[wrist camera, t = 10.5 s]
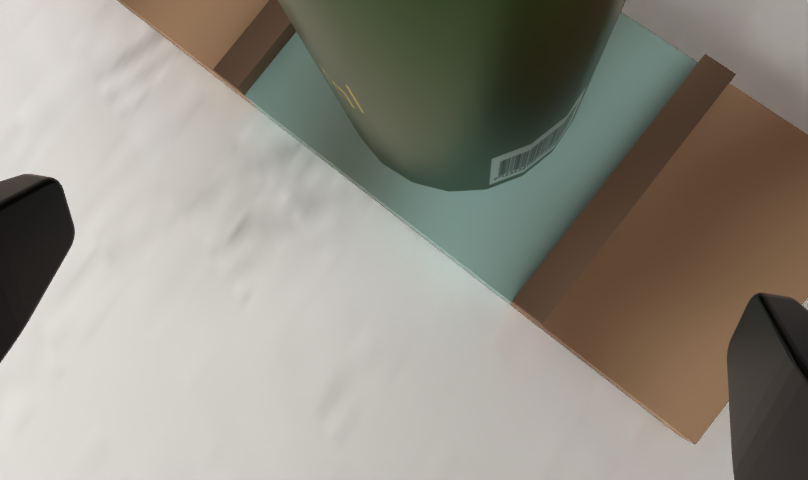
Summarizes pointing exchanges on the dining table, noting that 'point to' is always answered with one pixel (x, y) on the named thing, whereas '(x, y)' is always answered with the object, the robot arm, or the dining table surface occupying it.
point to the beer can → (457, 78)
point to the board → (577, 200)
